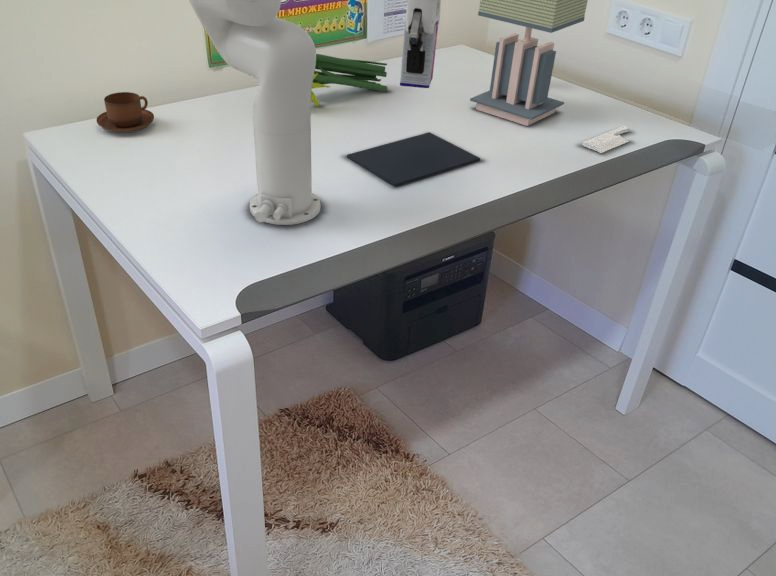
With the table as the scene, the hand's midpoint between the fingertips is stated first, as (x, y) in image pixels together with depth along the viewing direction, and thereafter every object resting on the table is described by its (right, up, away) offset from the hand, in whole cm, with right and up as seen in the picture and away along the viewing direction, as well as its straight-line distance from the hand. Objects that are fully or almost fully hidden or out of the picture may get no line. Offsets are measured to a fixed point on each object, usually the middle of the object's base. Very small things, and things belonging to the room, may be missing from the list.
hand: (418, 66), depth 136 cm
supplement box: (0, -2, +2) cm, 3 cm away
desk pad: (0, -14, +11) cm, 18 cm away
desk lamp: (+26, +3, +34) cm, 43 cm away
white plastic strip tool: (+44, -8, +21) cm, 49 cm away
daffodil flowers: (-19, +8, +38) cm, 43 cm away
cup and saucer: (-61, -5, +21) cm, 65 cm away
